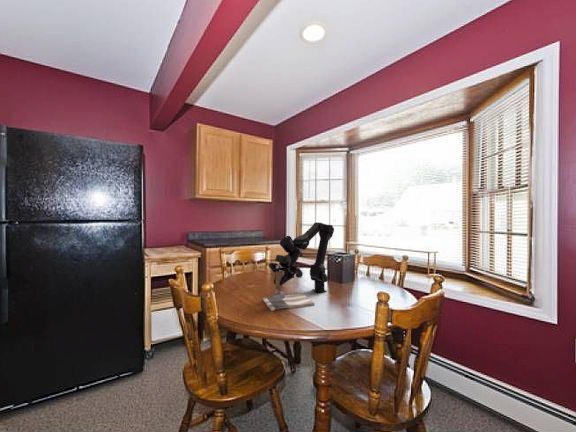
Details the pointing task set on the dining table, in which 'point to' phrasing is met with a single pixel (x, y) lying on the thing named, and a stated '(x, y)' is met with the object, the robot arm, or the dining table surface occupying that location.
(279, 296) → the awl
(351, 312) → the dining table surface
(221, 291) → the dining table surface
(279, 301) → the cream and grey cloth
